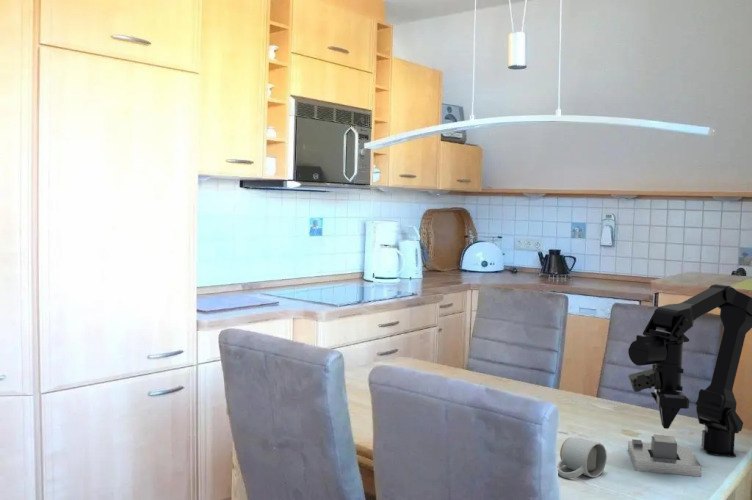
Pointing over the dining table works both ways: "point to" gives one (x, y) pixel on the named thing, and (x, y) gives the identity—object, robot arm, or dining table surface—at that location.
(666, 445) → the plug
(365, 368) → the dining table surface
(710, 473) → the dining table surface
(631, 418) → the dining table surface
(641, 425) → the dining table surface
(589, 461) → the ceramic mug
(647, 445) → the socket plate
